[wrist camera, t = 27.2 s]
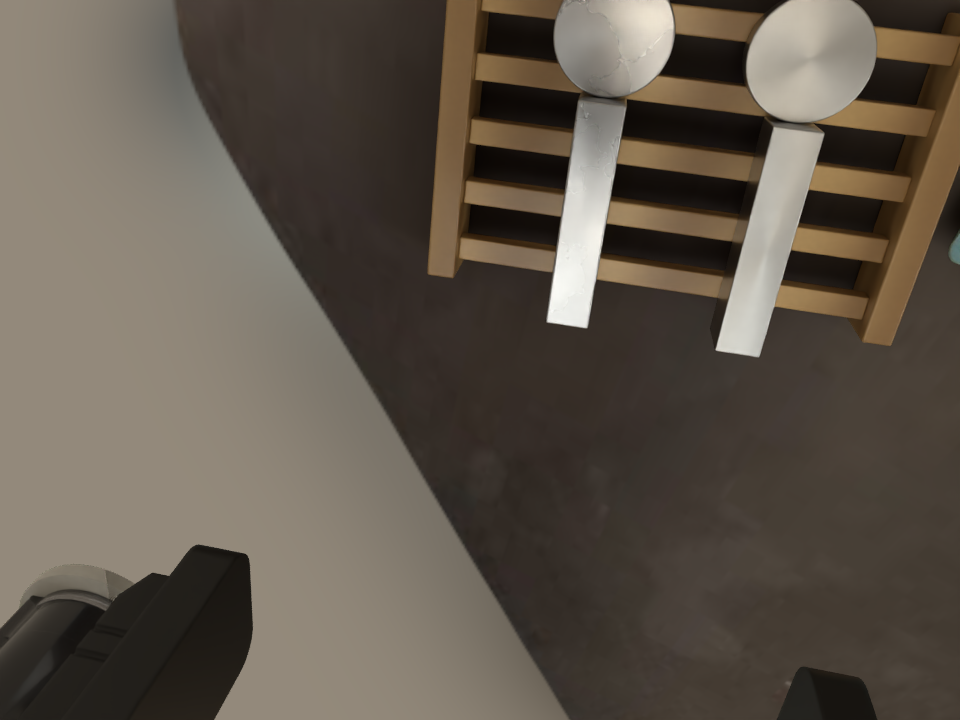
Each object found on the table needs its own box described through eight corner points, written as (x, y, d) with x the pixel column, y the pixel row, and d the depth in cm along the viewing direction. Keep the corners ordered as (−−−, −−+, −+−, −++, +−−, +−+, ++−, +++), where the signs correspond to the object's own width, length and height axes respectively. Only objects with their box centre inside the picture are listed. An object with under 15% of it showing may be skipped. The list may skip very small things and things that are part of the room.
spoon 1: (564, -39, 28) (559, -40, 27) (685, -26, 28) (690, -26, 26) (520, 299, 35) (514, 318, 33) (619, 314, 34) (619, 335, 32)
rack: (441, 253, 37) (426, 275, 34) (464, -42, 31) (449, -43, 28) (871, 318, 35) (891, 347, 32) (980, 15, 29) (1015, 20, 26)
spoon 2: (759, -16, 28) (768, -15, 26) (887, -3, 27) (906, 0, 25) (679, 324, 34) (682, 346, 32) (782, 340, 33) (792, 363, 32)
